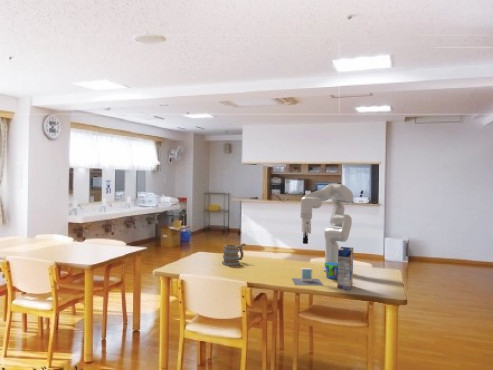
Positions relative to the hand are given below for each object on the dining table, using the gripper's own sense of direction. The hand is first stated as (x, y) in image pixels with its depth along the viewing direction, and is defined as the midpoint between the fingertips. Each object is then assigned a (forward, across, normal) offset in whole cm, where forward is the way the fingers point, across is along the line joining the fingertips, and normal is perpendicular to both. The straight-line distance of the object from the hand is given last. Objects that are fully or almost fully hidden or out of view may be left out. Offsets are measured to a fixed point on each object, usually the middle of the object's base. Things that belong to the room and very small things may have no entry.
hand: (305, 243), depth 265 cm
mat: (+24, -10, 0) cm, 26 cm away
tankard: (+24, +45, +47) cm, 69 cm away
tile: (+23, -7, 0) cm, 24 cm away
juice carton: (+24, -19, -22) cm, 38 cm away
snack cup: (+24, +2, -19) cm, 31 cm away
